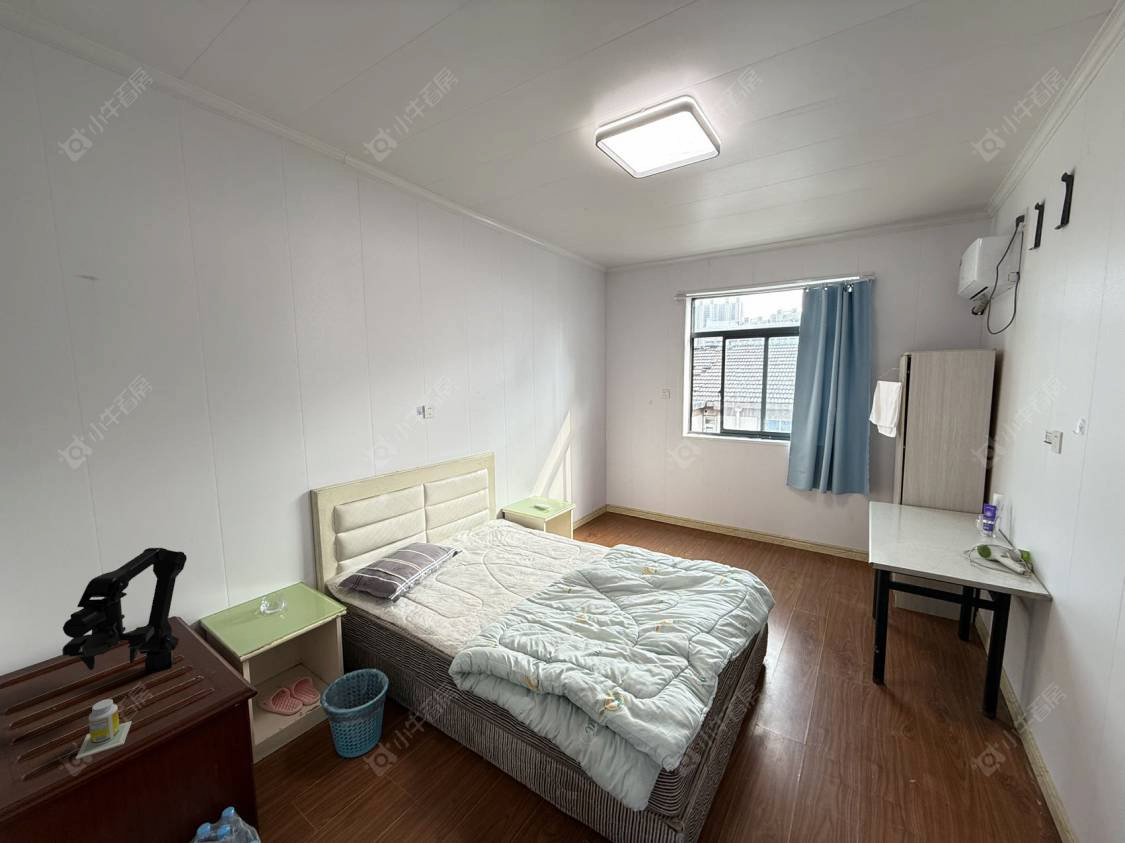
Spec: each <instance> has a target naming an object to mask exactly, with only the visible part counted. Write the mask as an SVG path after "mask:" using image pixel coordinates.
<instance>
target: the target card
mask: <svg viewBox="0 0 1125 843" xmlns="http://www.w3.org/2000/svg"><path fill="white" fill-rule="evenodd" d="M131 724H132V720H130V721H126V722H123V723H119V728H120V731H119V733H118V735H117V736H116V737H115V738H113V739H112V740H110V741H108V742H106V743H103V744H100V745H94V744H92V743H91V737H90V733H87V734H86V736H85V738H84V740H83V743H82V744H81V746H80V749H79V751H78V753H77V755H76V757H75V760H79V759H83V758H85V757H89V756H92V755H95V754H98V753H101V752H104V751H107V750H111V749H113V748H117V747H119V746H123V745H124V744H125V742H126V738H127V736H128V734H129V732H130V731H129V730H130V728H131Z"/></svg>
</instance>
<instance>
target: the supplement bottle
mask: <svg viewBox="0 0 1125 843" xmlns="http://www.w3.org/2000/svg"><path fill="white" fill-rule="evenodd" d="M91 710H92V711H91V713H89V715H88V725H89V734H90V737H91V743H92V744H94V745H100V744H103V743H106V742H108V741H110V740H112V739H113V738H115V737H116V736H117V735H118V733H119V731H120V728H119V725H120V721H119V720H120V719H119V707H118V705H117V704H116V703H114V701H113V699H111V698H107V699H103V700H100V701H98V702H96V703H95V704H94V705H93V706H92V708H91Z"/></svg>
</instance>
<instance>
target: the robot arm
mask: <svg viewBox="0 0 1125 843" xmlns="http://www.w3.org/2000/svg"><path fill="white" fill-rule="evenodd" d="M186 562H187V554H185V552H183V551H175V550H170V549H167V548H163V547H148V548H145V549H144V550H143V551H142V552H141V553H140V554H139V555H137V556H135V557H134V558H132V559H131V560H129V561H128V562H126V563H124V564H123V565H122V566H120V567H119V568H117V569H115V570H113V571H108V572H105V573H102V574H100V575H97V576H95V577H94V578H92V579H90V581H88V584H87V585H86V587H85V589H84V591H83V593H82V595H81V597H80V599H79V602H78V604H77V606H76V607H77V608H81V609H79V610H78V611H75V612H73V613H71V614H70V618H69V619H67V620H66V621H65V623H64V624H63V626H62V630H63V633H64V634H65V635H66V636H67V637H69V638H71V639H70V640H69V641H68V642H67V643H66V644H65V645H63V647H62V650H61V651H62V652H61V653H62V656H64V657H65V656H69V657H70V658H72V657H73V658H74V657H75V658H79V659H80V660H81V661H82V662H83V663H84V665H85V666H86V667H87V669H88V670H89V671H93V669H94V668H95V663H96V662H95V659H96V658H95V656H97V655H98V656H99V655H105V654H106V653H108V652H109V651H110V649H112V648H113V647H117V646H118V644H119V642H123V641H128V642H127V643H128V644H129V645H128V646H127V648H128V649H129V662H130V664H133V663H134V662H135V659H136V657H137V655H138V652H139V653H140V655H145V654H146V655H145V658H144V666H145V668H144V669H145V671H146V672H145V674H146V675H149V674H153V673H157V672H160V671H164V670H167V669H172V667H173V664H174V662H175V656H174V650H176V648H177V646H178V645H179V641H180V639H179V637H176V636H174V635H172V633H173V628H172V626H171V624H170V623H169V616H170V611H171V605H172V600H173V594H174V589H175V585H176V579H177V577H178V576H179V575H180V574H181V573H182V571H183V570H184V568H185V565H186ZM151 566H152V572H153V574H154V576H155V577H156V583H155V588H154V593H153V598H152V603H151V608H150V612H149V613H150V614H149V618H148V623H147V624H146V625H145V626H137V627H136V628H135V629H134V631H132V632H126V633H125V631H126V628H127V627H126V626H124V623H123V619H124V618H125V617H126V616H125V614H123V612H122V609H123V608H122V598H125V596H127V594H128V593H127V592H123V591H124V590H126V589H127V588H128V587H129V584H130V582H131V580H132V579H133V580H134V578H136V577H137V576H138V575H140V574H141V573H142V572H144V571H145V570H147V569H148V568H149V567H151ZM91 598H93V599H91ZM97 598H98V599H97ZM99 598H100V599H99ZM89 632H91V634H90V633H89ZM88 633H89V634H88Z"/></svg>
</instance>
